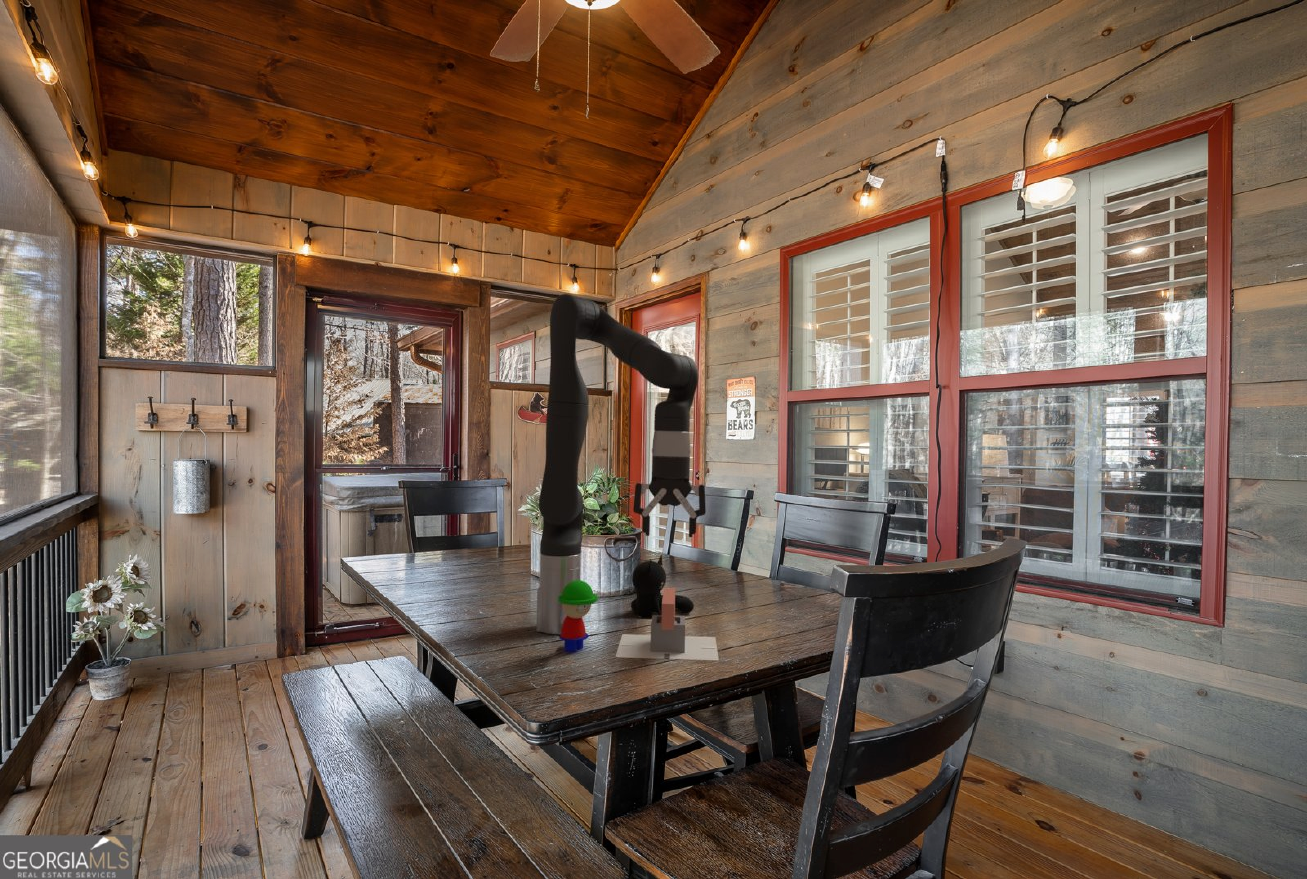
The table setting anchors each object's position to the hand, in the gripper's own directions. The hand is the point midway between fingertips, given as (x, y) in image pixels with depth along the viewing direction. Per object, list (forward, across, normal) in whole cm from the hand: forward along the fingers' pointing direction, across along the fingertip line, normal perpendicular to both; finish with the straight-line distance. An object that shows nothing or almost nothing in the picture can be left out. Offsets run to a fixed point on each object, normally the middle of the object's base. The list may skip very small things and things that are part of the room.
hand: (668, 536), depth 130 cm
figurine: (+25, +2, -34) cm, 42 cm away
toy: (+25, +18, 0) cm, 30 cm away
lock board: (+24, 0, -4) cm, 25 cm away
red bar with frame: (+23, 0, -4) cm, 23 cm away
